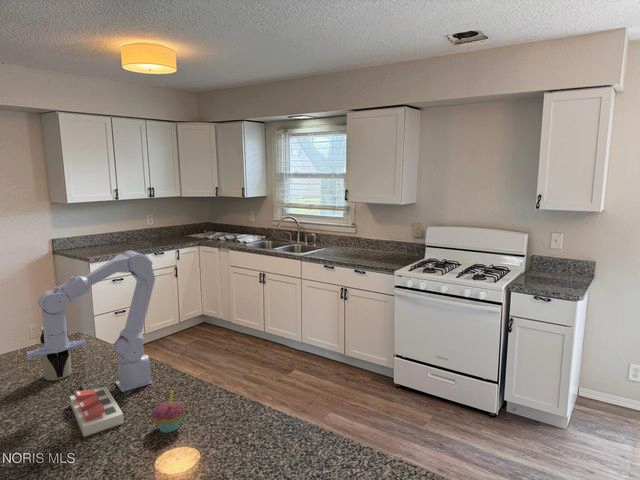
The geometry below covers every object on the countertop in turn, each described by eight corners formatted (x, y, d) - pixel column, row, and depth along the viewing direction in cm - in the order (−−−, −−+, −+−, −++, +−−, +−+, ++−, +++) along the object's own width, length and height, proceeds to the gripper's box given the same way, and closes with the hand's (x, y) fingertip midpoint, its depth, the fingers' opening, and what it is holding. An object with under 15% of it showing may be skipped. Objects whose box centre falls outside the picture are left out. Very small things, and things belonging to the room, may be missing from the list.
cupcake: (191, 422, 120) (189, 382, 118) (171, 440, 112) (169, 397, 111) (165, 416, 123) (163, 377, 121) (145, 433, 115) (142, 392, 113)
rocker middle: (97, 397, 126) (96, 393, 126) (100, 402, 123) (99, 399, 123) (79, 406, 123) (77, 403, 123) (81, 412, 120) (80, 408, 120)
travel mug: (76, 374, 149) (71, 324, 146) (52, 383, 142) (46, 331, 139) (64, 368, 153) (59, 320, 150) (40, 377, 147) (34, 327, 144)
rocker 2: (102, 406, 121) (101, 402, 121) (105, 412, 119) (104, 408, 118) (83, 415, 119) (82, 411, 118) (86, 421, 116) (84, 417, 115)
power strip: (99, 381, 143) (98, 373, 143) (123, 423, 120) (123, 413, 120) (64, 391, 137) (63, 382, 137) (83, 436, 114) (82, 426, 113)
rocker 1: (92, 393, 131) (93, 388, 131) (95, 397, 128) (96, 393, 128) (74, 395, 127) (74, 391, 127) (76, 400, 125) (77, 395, 125)
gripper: (80, 322, 132) (84, 364, 134) (23, 333, 123) (28, 378, 125) (85, 329, 126) (89, 372, 129) (26, 341, 117) (31, 387, 120)
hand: (59, 376), depth 126 cm, fingers closed
